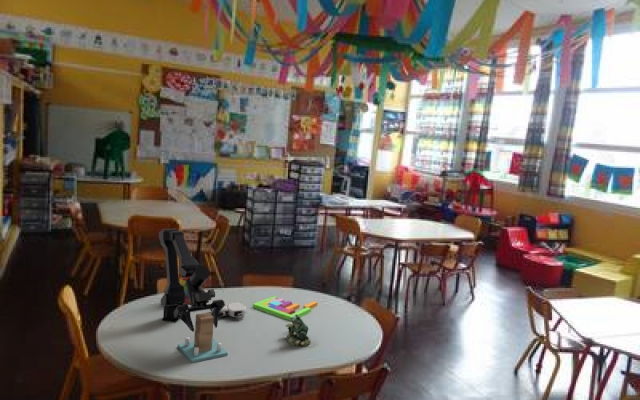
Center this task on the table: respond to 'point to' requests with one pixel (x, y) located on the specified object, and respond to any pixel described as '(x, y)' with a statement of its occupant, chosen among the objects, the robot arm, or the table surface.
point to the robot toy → (233, 310)
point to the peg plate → (196, 356)
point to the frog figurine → (297, 332)
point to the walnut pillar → (203, 331)
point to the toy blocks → (283, 307)
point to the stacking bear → (185, 288)
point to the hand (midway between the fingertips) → (205, 329)
